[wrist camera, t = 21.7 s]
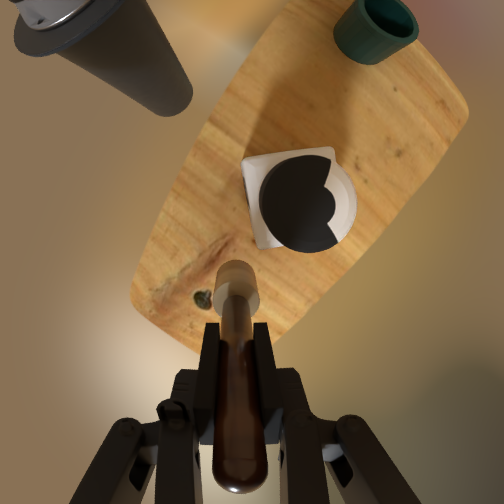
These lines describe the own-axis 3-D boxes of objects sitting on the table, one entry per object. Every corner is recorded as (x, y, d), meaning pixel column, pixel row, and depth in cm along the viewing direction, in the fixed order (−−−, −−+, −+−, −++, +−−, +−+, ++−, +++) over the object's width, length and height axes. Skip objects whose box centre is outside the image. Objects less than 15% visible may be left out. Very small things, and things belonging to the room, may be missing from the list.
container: (252, 231, 30) (264, 275, 18) (239, 161, 28) (242, 153, 16) (320, 219, 30) (373, 253, 18) (310, 150, 28) (362, 140, 16)
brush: (209, 271, 25) (165, 480, 6) (243, 252, 25) (264, 461, 6) (229, 301, 26) (225, 510, 7) (262, 284, 26) (309, 491, 7)
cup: (322, 24, 23) (344, -8, 16) (365, 15, 23) (393, -12, 15) (353, 71, 25) (385, 48, 18) (394, 58, 25) (429, 39, 17)
